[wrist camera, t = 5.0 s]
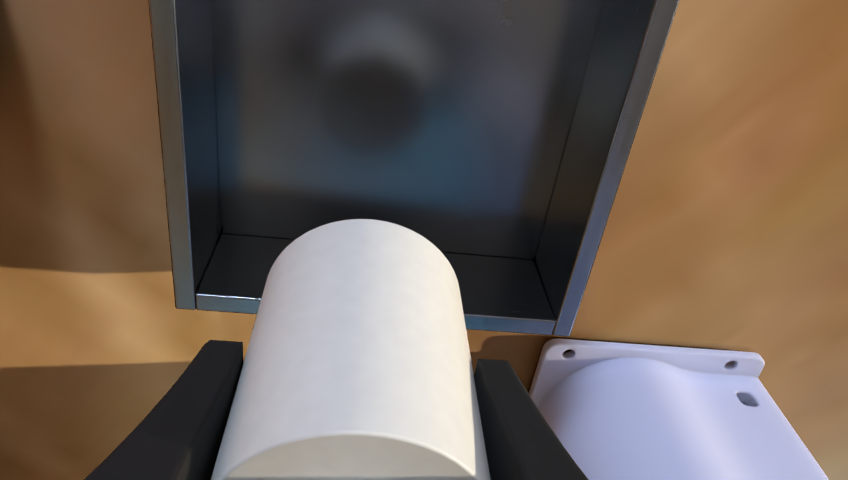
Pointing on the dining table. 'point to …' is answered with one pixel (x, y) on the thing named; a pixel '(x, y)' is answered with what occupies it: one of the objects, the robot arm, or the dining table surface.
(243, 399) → the bottle
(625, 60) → the dark grey tray
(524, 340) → the dining table surface
